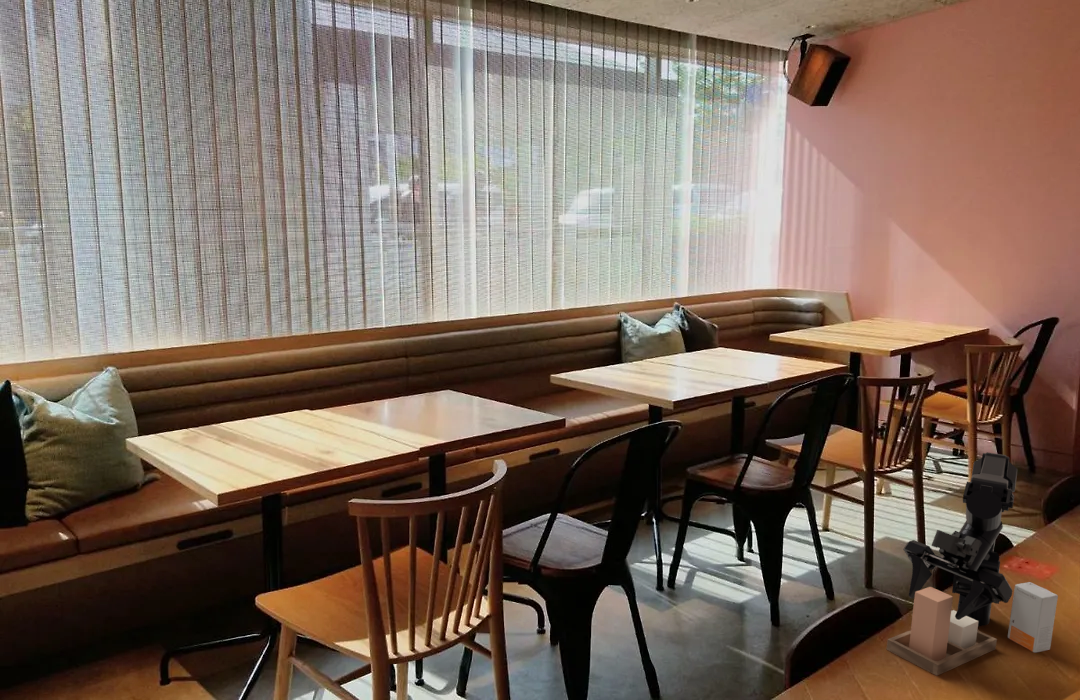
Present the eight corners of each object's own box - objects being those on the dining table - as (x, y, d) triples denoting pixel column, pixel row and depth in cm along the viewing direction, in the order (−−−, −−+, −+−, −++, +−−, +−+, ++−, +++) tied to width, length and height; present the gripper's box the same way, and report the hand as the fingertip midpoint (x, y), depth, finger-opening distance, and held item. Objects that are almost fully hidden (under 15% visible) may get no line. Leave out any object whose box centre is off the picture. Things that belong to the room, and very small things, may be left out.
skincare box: (1005, 642, 160) (1013, 583, 158) (1022, 638, 162) (1029, 581, 160) (1034, 658, 155) (1042, 598, 153) (1050, 654, 156) (1059, 594, 154)
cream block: (950, 634, 161) (953, 609, 160) (975, 645, 157) (978, 621, 156) (934, 640, 158) (937, 616, 157) (959, 652, 154) (962, 627, 153)
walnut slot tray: (944, 630, 164) (946, 616, 164) (994, 653, 156) (996, 639, 155) (885, 654, 155) (887, 639, 154) (936, 680, 146) (937, 665, 146)
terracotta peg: (923, 646, 156) (930, 586, 154) (945, 657, 152) (952, 596, 150) (908, 652, 154) (915, 591, 152) (930, 664, 150) (937, 602, 148)
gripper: (914, 499, 159) (871, 565, 156) (1011, 533, 144) (966, 607, 140) (935, 530, 165) (894, 595, 161) (1030, 566, 149) (988, 638, 145)
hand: (932, 607), depth 152 cm, fingers open, 9 cm apart
